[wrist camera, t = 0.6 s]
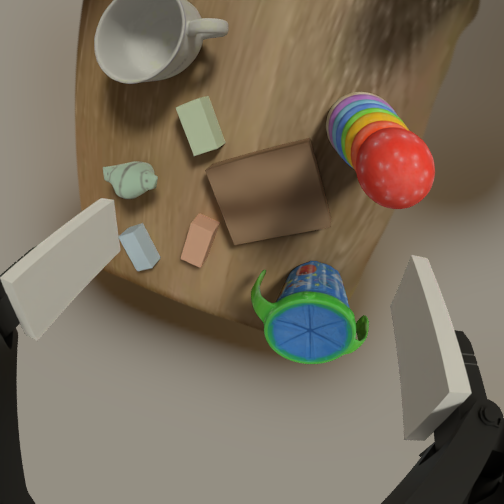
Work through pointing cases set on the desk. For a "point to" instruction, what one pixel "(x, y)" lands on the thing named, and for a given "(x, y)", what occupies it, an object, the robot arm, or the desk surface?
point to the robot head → (131, 178)
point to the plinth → (271, 192)
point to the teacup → (151, 38)
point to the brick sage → (200, 125)
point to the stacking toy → (380, 150)
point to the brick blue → (139, 247)
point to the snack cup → (310, 316)
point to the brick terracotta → (199, 240)
